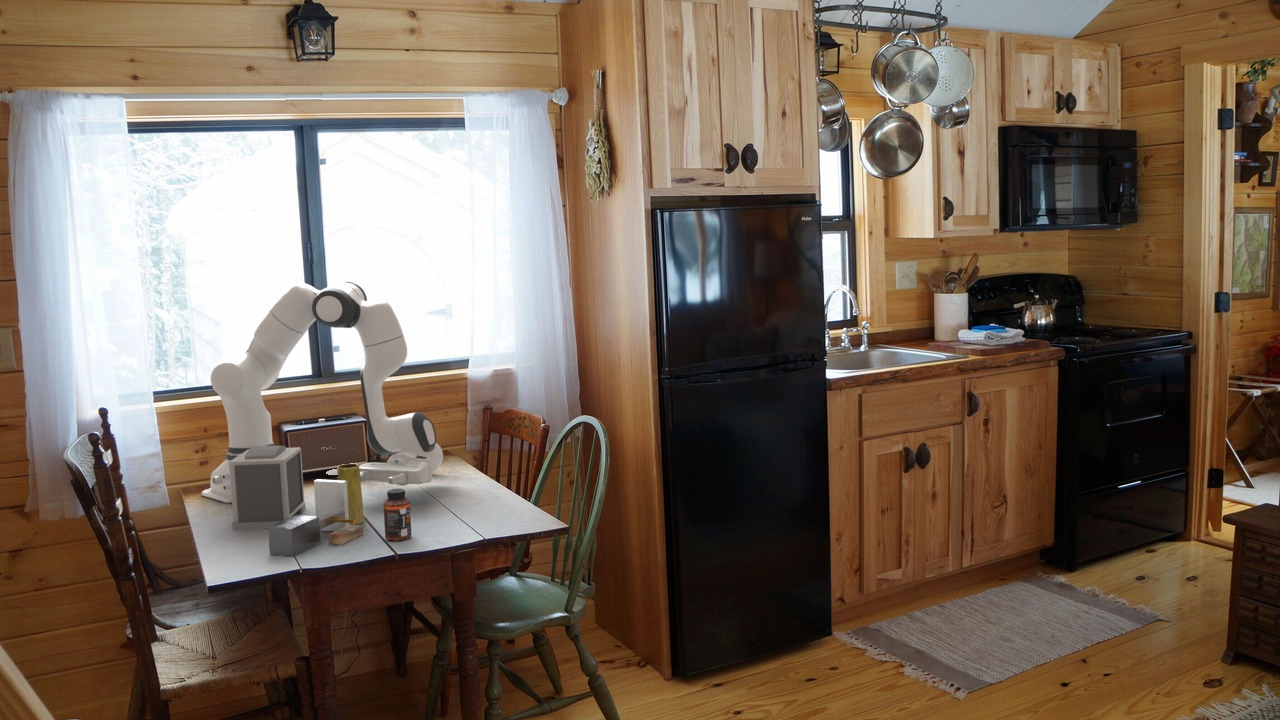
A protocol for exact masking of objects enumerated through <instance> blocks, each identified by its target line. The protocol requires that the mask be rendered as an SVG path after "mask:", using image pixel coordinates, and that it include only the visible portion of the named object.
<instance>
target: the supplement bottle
mask: <svg viewBox="0 0 1280 720" xmlns="http://www.w3.org/2000/svg"><path fill="white" fill-rule="evenodd" d="M386 497H387V498H386V499H385V500H384V502H383V521H384V522H383V523H384V535H385V539H386V540H387V541H389V540H392V541H391V542H399V540H402V541H406V540H408V539H410V538H411V537H412V518H411V502H410V499H409V498H407V496H406V490H405V489H404V488H393V489H389V490H387V492H386Z"/></svg>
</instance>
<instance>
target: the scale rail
mask: <svg viewBox="0 0 1280 720" xmlns="http://www.w3.org/2000/svg"><path fill="white" fill-rule="evenodd" d="M361 534H363V535H364V527H363V525H361V524H358V525H348V526H345V527H343V528H341V529H339V530H337V531H332V532H331V533H329V536H328V545H329V544H338V545H337V546H340V545H341V544H343V543H345V542H347V541H349V540H351V539H353V538H355V537H357V536H359V535H361ZM361 536H362V535H361ZM359 537H360V536H359ZM357 538H358V537H357ZM355 539H356V538H355ZM353 540H354V539H353ZM351 541H352V540H351ZM349 542H350V541H349ZM347 543H348V542H347ZM339 544H340V545H339ZM345 544H346V543H345ZM343 545H344V544H343ZM341 546H342V545H341Z"/></svg>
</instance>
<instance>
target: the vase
mask: <svg viewBox="0 0 1280 720" xmlns="http://www.w3.org/2000/svg"><path fill="white" fill-rule="evenodd" d="M360 465H361V464H358V463H350V464H342V465H339V466H338V467H337V471H338V477H337V480H339V481H347V495H348V512H349V519H355V523H349V525H356V524H358V525H361V524H360V523H362V522H363V523H365V516H364V504H363V493H362V482H361V481H360ZM363 523H362V524H363Z"/></svg>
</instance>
